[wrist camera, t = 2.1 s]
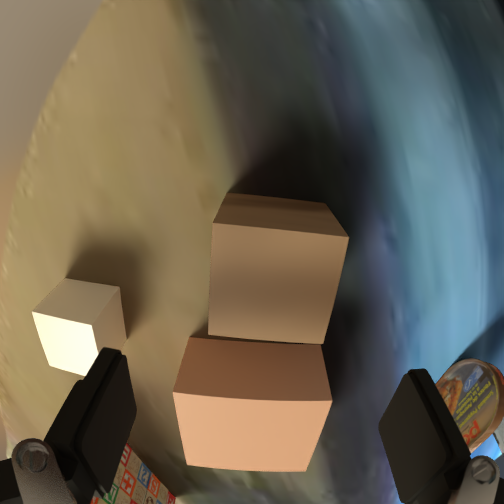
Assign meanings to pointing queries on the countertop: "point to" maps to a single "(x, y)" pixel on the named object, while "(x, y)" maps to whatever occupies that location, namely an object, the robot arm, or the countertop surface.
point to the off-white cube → (79, 323)
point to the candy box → (500, 436)
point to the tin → (474, 398)
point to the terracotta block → (251, 404)
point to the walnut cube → (274, 269)
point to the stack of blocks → (135, 484)
